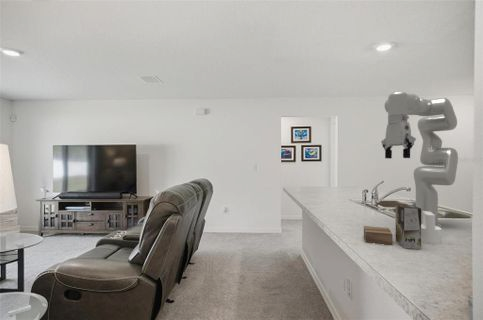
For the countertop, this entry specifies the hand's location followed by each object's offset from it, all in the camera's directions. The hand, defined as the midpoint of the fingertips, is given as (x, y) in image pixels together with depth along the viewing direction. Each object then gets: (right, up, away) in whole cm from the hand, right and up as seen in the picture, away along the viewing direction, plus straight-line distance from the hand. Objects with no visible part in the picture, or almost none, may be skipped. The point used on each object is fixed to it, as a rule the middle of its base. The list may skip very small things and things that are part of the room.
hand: (397, 158), depth 115 cm
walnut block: (-11, -36, -4) cm, 38 cm away
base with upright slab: (+11, -36, -4) cm, 38 cm away
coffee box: (-2, -36, -10) cm, 38 cm away
